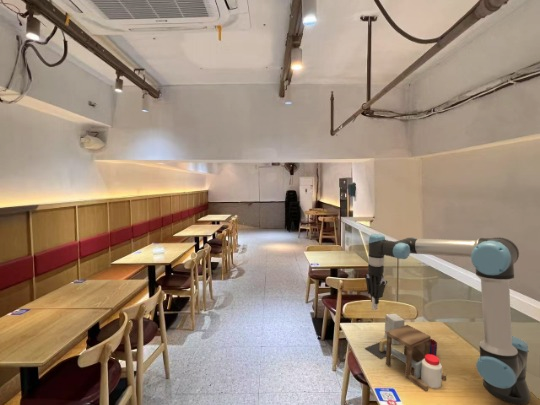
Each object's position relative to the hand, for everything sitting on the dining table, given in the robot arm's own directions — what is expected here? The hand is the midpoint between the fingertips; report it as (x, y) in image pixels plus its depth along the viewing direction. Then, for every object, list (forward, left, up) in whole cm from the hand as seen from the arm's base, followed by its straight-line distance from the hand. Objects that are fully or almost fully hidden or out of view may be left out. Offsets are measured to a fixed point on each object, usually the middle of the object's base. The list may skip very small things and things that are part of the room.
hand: (374, 308), depth 154 cm
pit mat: (-5, 0, -20) cm, 21 cm away
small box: (-2, -14, -20) cm, 25 cm away
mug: (-18, -17, -20) cm, 32 cm away
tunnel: (-24, 0, -20) cm, 31 cm away
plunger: (-17, 0, -20) cm, 26 cm away
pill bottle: (-31, 0, -20) cm, 37 cm away
